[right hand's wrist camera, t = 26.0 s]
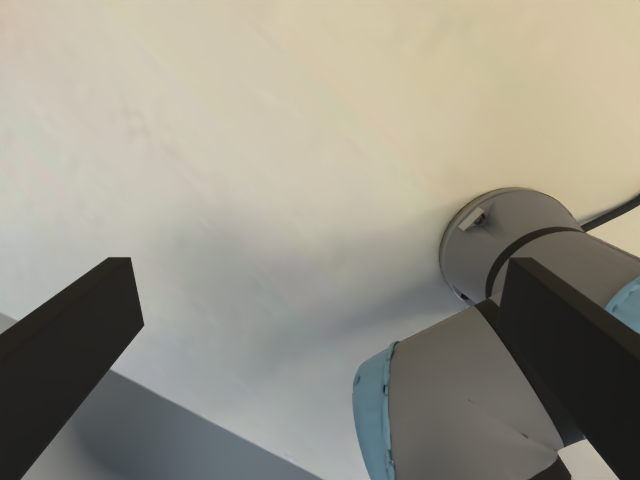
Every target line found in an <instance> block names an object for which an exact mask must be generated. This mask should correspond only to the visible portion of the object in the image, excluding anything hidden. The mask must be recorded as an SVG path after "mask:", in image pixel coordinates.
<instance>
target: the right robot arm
mask: <svg viewBox="0 0 640 480" xmlns="http://www.w3.org/2000/svg"><path fill="white" fill-rule="evenodd" d="M639 205H640V196H638V197H637V198H635V199H634V200H632V201H630V202H629V203H627V204H625V205H623V206H621V207H619V208H617V209H615V210H613V211H611V212H609V213H607V214H605V215H603V216H601V217H599V218H597V219H594V220H592V221H590V222H588V223H586V224H584V225H582V226H579V225H578V223H577V222H576V220H575V219H574V217H573V216H572V214H571V213H570V212H569V211H568V209H567V208H566V207H564V206H563V205H562V204H561V203H560V202H559V201H557V200H556V199H554V198H552V197H551V196H549V195H546V194H543V193H541V192H538V191H536V190H532V189H528V188H519V187H512V188H503V189H499V190H495V191H492V192H489V193H486V194H484V195H482V196H480V197H478V198H476V199H475V200H473V201H472V202H470V203H469V204H468V205H466V206H465V207H464V208H463V209H462V210H461V211H460V212H459V213H458V214H457V215H456V216H455V217H454V219H453V220H452V221H451V223H450V225H449V226H448V228H447V230H446V232H445V234H444V237H443V239H442V243H441V247H440V267H441V271H442V274H443V276H444V278H445V280H446V282H447V284H448V285H449V286H450V288H451V289H452V291H453V292H454V293H455V294H456V295H457V296H458V297H459V298H460V299H461V300H462V301H464V302H465V303H466V304H468V305H470V306H471V307H469V308H467V309H465V310H463V311H461V312H459V313H457V314H455V315H453V316H451V317H449V318H447V319H445V320H443V321H441V322H439V323H437V324H435V325H433V326H431V327H429V328H427V329H425V330H423V331H421V332H419V333H417V334H415V335H413V336H411V337H409V338H407V339H405V340H403V341H401V342H399V341H395V342H393V343H392V344H391V345H390V346H389V348H387V349H385V350H384V351H382V352H380V353H378V354H377V355H375V356H373V357H371V358H370V359H368V360H366V361H365V362H364V363H363V364H362V365H361V366H360V367H359V369H358V370H357V372H356V375H355V378H354V383H353V394H352V401H353V414H354V421H355V427H356V432H357V437H358V441H359V445H360V449H361V452H362V456H363V459H364V462H365V465H366V468H367V471H368V474H369V476H370V479H371V480H574V479H573V477H572V476H571V474H570V473H569V471H568V469H567V468H566V466H565V465H564V463H563V461H562V460H561V458H560V457H559V455H558V453H557V451H558V450H560V449H562V448H564V447H566V446H568V445H571V444H573V443H576V442H579V441H581V440H584V439H587V440H588V441H589V442H590V443H591V445H592V446H593V447H594V448H595V450H596V451H597V452H598V453H599V455H600V456H601V457H602V458H603V460H604V461H605V462H606V463H607V465H608V466H609V467H610V468H611V470H612V471H613V472H614V473H615V475H616V476H617V477H618V478H619V480H640V258H639V257H637V256H634V255H632V254H630V253H628V252H626V251H624V250H622V249H619V248H617V247H615V246H613V245H611V244H609V243H607V242H604V241H602V240H600V239H598V238H596V237H594V236H591V235H589V234H587V233H585V232H587V231H589V230H591V229H594V228H596V227H598V226H600V225H602V224H604V223H606V222H608V221H610V220H612V219H614V218H616V217H618V216H620V215H622V214H624V213H626V212H628V211H630V210H632V209H634V208H635V207H637V206H639ZM143 326H144V321H143V316H142V311H141V306H140V301H139V297H138V292H137V287H136V282H135V277H134V272H133V267H132V262H131V257H108V258H107V259H105V260H104V261H103V262H101V263H100V264H98V265H97V266H96V267H94V268H93V269H91V270H90V271H89V272H87V273H86V274H84V275H83V276H82V277H80V278H79V279H77V280H76V281H75V282H73V283H72V284H70V285H69V286H68V287H66V288H65V289H63V290H62V291H61V292H59V293H58V294H56V295H55V296H54V297H52V298H51V299H49V300H48V301H47V302H45V303H44V304H42V305H41V306H40V307H38V308H37V309H35V310H34V311H33V312H31V313H30V314H28V315H27V316H26V317H24V318H23V319H21V320H20V321H19V322H17V323H16V324H14V325H13V326H12V327H10V328H9V329H7V330H6V331H5V332H3V333H2V334H0V480H20V479H21V478H22V477H23V476H24V475H25V473H26V472H27V471H28V470H29V468H30V467H31V466H32V465H33V463H34V462H35V461H36V460H37V458H38V457H39V456H40V455H41V453H42V452H43V451H44V450H45V448H46V447H47V446H48V445H49V443H50V442H51V441H52V440H53V438H54V437H55V436H56V435H57V433H58V432H59V431H60V430H61V428H62V427H63V426H64V425H65V423H66V422H67V421H68V420H69V418H70V417H71V416H72V415H73V413H74V412H75V411H76V410H77V408H78V407H79V406H80V405H81V403H82V402H83V401H84V400H85V398H86V397H87V396H88V395H89V394H90V392H91V391H92V390H93V388H94V387H95V386H96V385H97V384H98V382H99V381H100V380H101V379H102V377H103V376H104V375H105V374H106V372H107V371H108V370H109V369H110V367H111V366H112V365H113V364H114V362H115V361H116V360H117V359H118V357H119V356H120V355H121V354H122V352H123V351H124V350H125V349H126V347H127V346H128V345H129V344H130V342H131V341H132V340H133V339H134V337H135V336H136V335H137V334H138V332H139V331H140V330H141V329H142V327H143Z"/></svg>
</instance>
